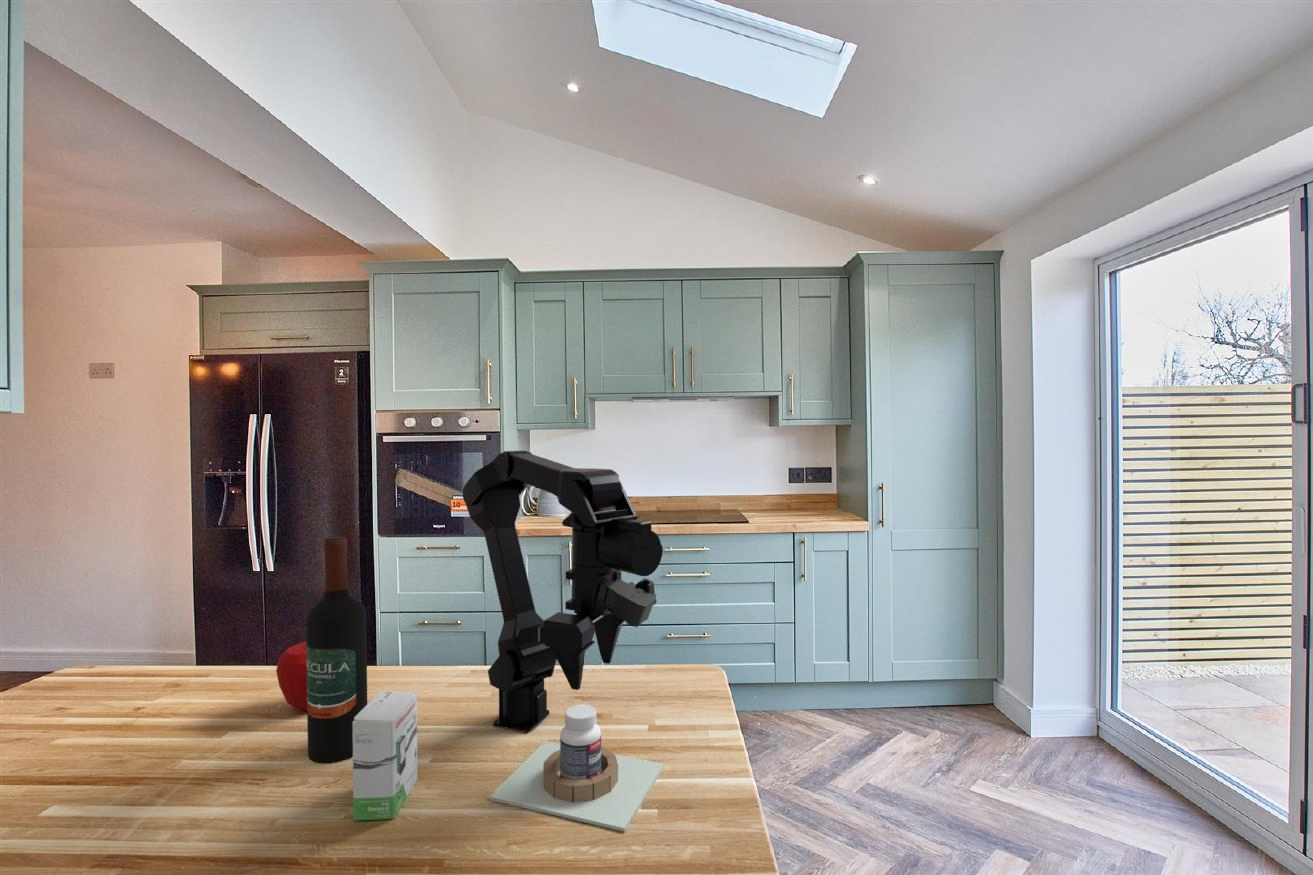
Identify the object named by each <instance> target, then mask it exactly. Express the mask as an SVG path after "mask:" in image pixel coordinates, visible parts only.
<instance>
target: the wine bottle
mask: <svg viewBox="0 0 1313 875" xmlns="http://www.w3.org/2000/svg"><path fill="white" fill-rule="evenodd" d="M347 540H348V539H347V537H346V536H332V537H327V538H324V544H323V551H324V584H325V585H324V588H325V591H324V594H323V597H322V598H321V599H320V600H319V601H318V602H317V603H316V604H314V605H313V606H312V608H311V609H310V610H309V611H308V614H307V615H306V620H305V642H306V659H307V711H306V714H307V715H306V716H307V717H306V718H307V719H306V720H307V721H306V722H307V757H308V760H309V761H311V762H313V763H316V764H320V765H321V764H335V763H339V762H343V761H346V760H349V759H353V725H352V722H353V721H354V717H355V716H356V715H357V714H358V713H359V712H360V711H361V710H362V709H363V708H364V707H365V706H366V705H367V704H368V659H367V656H368V646H367V643H368V642H367V638H368V637H367V634H368V633H367V612H366V611H367V610H366V607H365V606H364V605H363V604H362V602H360V601H359V600H358V599H357V598H355V597H353V595H350V592H349V590H348V556H347V555H348V542H347Z"/></svg>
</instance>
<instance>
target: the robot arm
mask: <svg viewBox="0 0 1313 875" xmlns="http://www.w3.org/2000/svg"><path fill="white" fill-rule="evenodd" d="M619 477H620V475H619V474H618V473H617V471H615V470H613V469H609V468H585V467H584V468H577V467H572V466H569V465H566V464H563V463H560V462H557V461H554V460H550V459H547V458H545V457H541V456H540V455H539V456H538V455H535V454H533V453H531V452H530V451H528V450H505V451H502V452H500V453H499V454H497V456H496V457H495V458H494V459H493V461H491V462H490V463H488V464H486V465H484V466H483V467H481V468H479V469H478V470H476V471H475V472H474V473H473V474H472V475H471V476H470V477H469V479H468V480H467V482H465V484H464V486H463V488H462V499H463V501H464V503H465V506H466V509H467V511H468V515H469V518H470V520H472V522H474V523H475V524H476V526H477V527H479V528H480V530H482V531H483V534H484V538H485V543H486V548H487V553H488V556H489V560H490V564H491V569H492V572H493V578H494V582H495V587H496V588H495V589H496V591H497V597H498V601H499V605H500V610H501V614H502V617H503V618H502V619H503V624H502V628H501V631H500V634H499V638H498V639H497V640H498V641H497V646H498V655H499V656H498V657H497V658H496V659H495V661H494V663H492V665H491V666H490V667H489V668H488V670H487V675H488V679H489V684H490V686H492V687H494V688H496V689H497V690H498V717H497V718H496V719H494V720H493V721H492V725H493V726H494V727H499V728H506V729H510V730H516V731H521V732H526V733H527V732H528V733H529V732H531V731H533V729H535V728H536V727H537V726H538V725H539V724H540V723H541V722H543V720H544V719H546V718H547V716H549V715H550V710H549V709H548V705H547V704H548V701H547V700H548V699H547V698H548V691H547V689H545V679H546V678H552V677H553V676H554V675H553V674H554V670H555V668H556V663H557V662H558V665H559V666H560V668H561V671H562V672H563V674H564V676H565V679H566V680H567V683H568V684H569V686H570V688H571V689H572V690H577V691H579V690H580V689H581V686H582V679H583V674H584V673H583V672H584V663H585V658H586V657H585V656H586V652H587V651H588V650H589V649H590V647H592V646H593V645H594V644H595V643H596V641H597V646H598V651H599V654H600V657H601V660H602V663H603V664H610V663H611V662H612V659H613V656H614V653H615V652H614V651H615V648H616V646H617V645H616V644H617V642H618V638H619V634H620V631H621V629H622V627H623V624H624V623H625V622H626V624H627V625H629V626H631V627H635V628H638V627H640V626H641V625H642V624H643V623H644V622H645V621H647V620H648V619H649V617H650V614H651V612H652V608H653V606H655V605H656V604H657V603H658V602H657V594H656V593H655V584H654V583H655V582H654V581H652V580H651V579H649V578H647V577H648V576H650V575H652V574H653V573H654V572H655V571H657V569H658V567H659V566H660V564H661V561H662V556H663V550H664V548H663V545H662V541H661V539H660V537H659V536H658V534H657V533H656V532H654V531H653V530H652V521H650V520H645V519H644V520H643V519H642V520H638V514H637V512H636V511H635V509H634V508H635V507H634V505H633V504H632V502H631V501H630V499H629V495H628V494H627V492H626V490H625V488H624V485H623V484H622V481H620V479H619ZM528 486H531V487H534V488H537V489H539V490H542V491H544V492H546V493H549V494H552V495H553V496H555V497H556V498H557V501H558V503H559V504H560V505H561V506H562V507H563V508H565V509H566V510H568V511H569V512H570V514H569V515H567V516H566V517H565V518H564V519H563V520H562V522H561V524H562V526H564V527H566V528H571V568H570V569H568V570H566V571H565V580H571V598H570V599H567V600H566V601H565V610H568V611H573V612H574V614H572V613H566V612H559V611H558V612H556V613H555V614H553V615H551V616H549V617H548V618H546V619H543V618H542V617H541V616H540V615H539V614H538V613H537V611H536V607H535V603H534V599H533V594H532V591H531V587H530V582H529V577H528V574H527V569H526V566H525V561H524V557H523V553H522V549H521V544H520V540H519V537H518V536H519V535H518V531H517V527H516V522H517V518H518V514H519V513H520V509H521V499H520V496H521V494H523V493H524V491H525V490H526V489H527V488H528ZM622 572H625V573H627V574H633V575H636V576H640V577H643V578H642V579H641V580H639V581H638V582H637V583H636V584H635V582H634V581H633V582H632V581H630V582H626V581H625V580H622ZM594 636H595V637H596V641H595V640H593V638H594Z"/></svg>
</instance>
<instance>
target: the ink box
mask: <svg viewBox="0 0 1313 875" xmlns="http://www.w3.org/2000/svg"><path fill="white" fill-rule="evenodd" d="M417 696H418V692H417V691H395V690H393V691H387V690H385V691H379V692H378V693H377V694H376V695H375V696H374V697H373V698H372V699H371V700H370V701H369V702H367V705H366V706H365V707H364V708H363V709H362V710H361V711H360V712H359V713H358V714H357V715H356V716H355V717H354V721H353V722H352V725H353V757H352V789H353V790H352V798H353V799H352V801H353V804H352V805H353V806H352V808H353V810H352V813H353V815H352V816H353V821H371V820H372V821H373V820H374V821H375V820H387V819H389V820H391V819H395V817H396V816H397V814H398V812H399V811H400V809H401V807H402V806H403V803H404V802H405V801H406V799H407V798H408V795H410V792H411V791H412V789H413V787H414V786H415V784H416V783H417V780H418V734H417V733H418V720H417V718H418V714H417V713H418V710H417V709H418V708H417V707H418V705H417V703H418V702H417V699H418V697H417Z"/></svg>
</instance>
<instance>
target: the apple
mask: <svg viewBox="0 0 1313 875" xmlns="http://www.w3.org/2000/svg"><path fill="white" fill-rule="evenodd" d="M275 671H276V676H277V681H278V686H279V688H280V690H281V692H282V695H283V697H284V699H285V701H286V703H287V704H288V705H289V706H290V707H292V708H295V709H297V710H298V711H301V712H307V659H306V641H304V642H300V643H297V644H296V645H293V646H290V647H288V648H287V649H286V650H285V651H284V652H283V654H281V656H280V657H279V658H278V661H277V666H276V670H275Z"/></svg>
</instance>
